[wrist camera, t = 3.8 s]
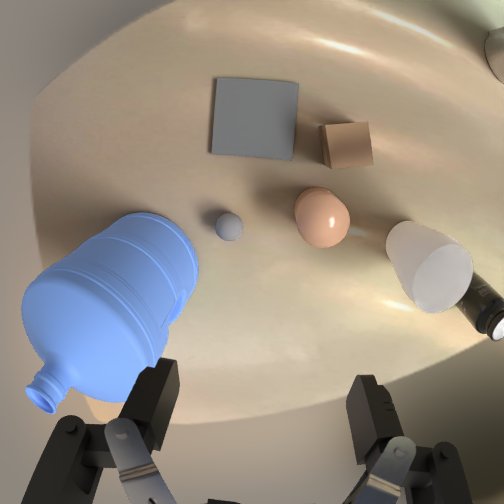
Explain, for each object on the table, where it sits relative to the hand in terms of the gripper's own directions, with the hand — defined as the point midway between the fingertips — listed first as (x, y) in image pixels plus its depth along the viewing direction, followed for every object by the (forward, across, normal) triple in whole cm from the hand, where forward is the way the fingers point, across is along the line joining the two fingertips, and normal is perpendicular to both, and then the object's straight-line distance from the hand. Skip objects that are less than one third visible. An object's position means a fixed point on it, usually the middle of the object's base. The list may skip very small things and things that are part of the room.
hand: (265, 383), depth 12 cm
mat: (+28, +3, -12) cm, 31 cm away
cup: (+29, -20, +2) cm, 35 cm away
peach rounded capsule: (+28, -6, -1) cm, 29 cm away
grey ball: (+28, +5, +2) cm, 29 cm away
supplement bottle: (+29, -36, +9) cm, 47 cm away
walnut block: (+28, -8, -10) cm, 31 cm away
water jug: (+29, +17, +9) cm, 35 cm away
